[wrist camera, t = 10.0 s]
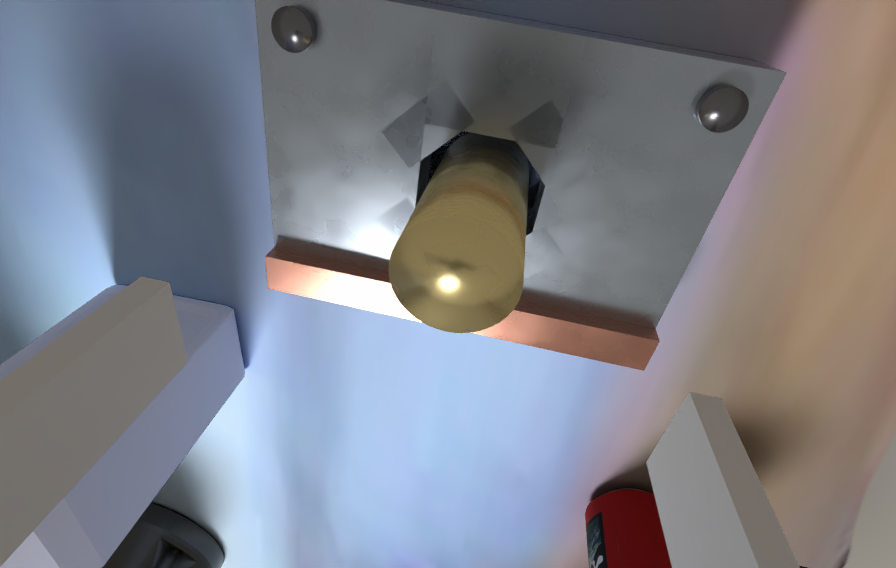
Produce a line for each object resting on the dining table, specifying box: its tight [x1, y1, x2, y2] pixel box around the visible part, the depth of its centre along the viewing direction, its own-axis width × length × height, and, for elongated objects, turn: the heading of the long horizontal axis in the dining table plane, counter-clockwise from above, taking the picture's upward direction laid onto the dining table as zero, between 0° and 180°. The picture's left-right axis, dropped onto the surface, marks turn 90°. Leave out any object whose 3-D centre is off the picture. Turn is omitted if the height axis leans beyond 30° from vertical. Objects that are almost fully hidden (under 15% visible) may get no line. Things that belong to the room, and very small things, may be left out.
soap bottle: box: [0, 285, 245, 568], centre depth 24 cm, size 9×7×23 cm
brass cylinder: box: [389, 132, 529, 333], centre depth 20 cm, size 4×4×10 cm
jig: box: [255, 0, 786, 371], centre depth 22 cm, size 20×14×4 cm
